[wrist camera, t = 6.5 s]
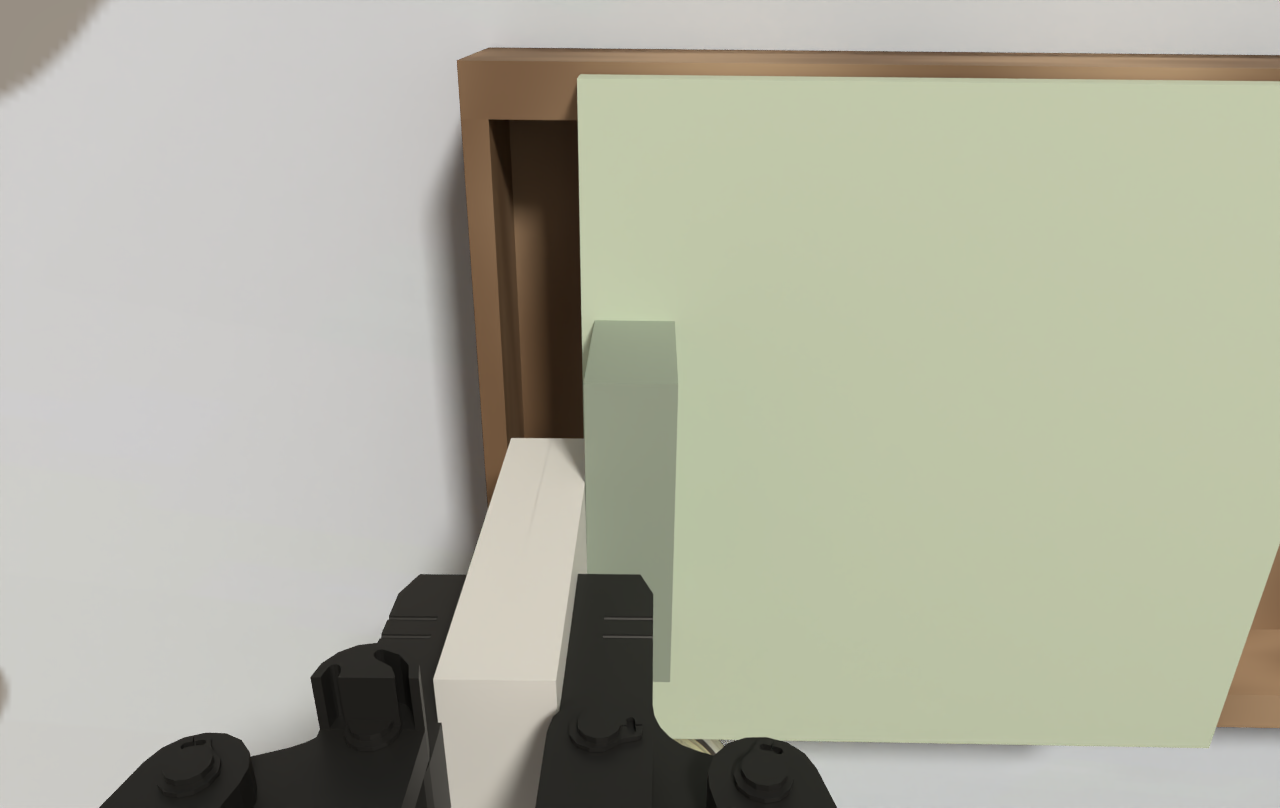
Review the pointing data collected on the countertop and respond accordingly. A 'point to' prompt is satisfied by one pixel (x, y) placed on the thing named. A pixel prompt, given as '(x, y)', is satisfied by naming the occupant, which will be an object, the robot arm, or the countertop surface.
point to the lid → (934, 398)
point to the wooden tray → (550, 232)
